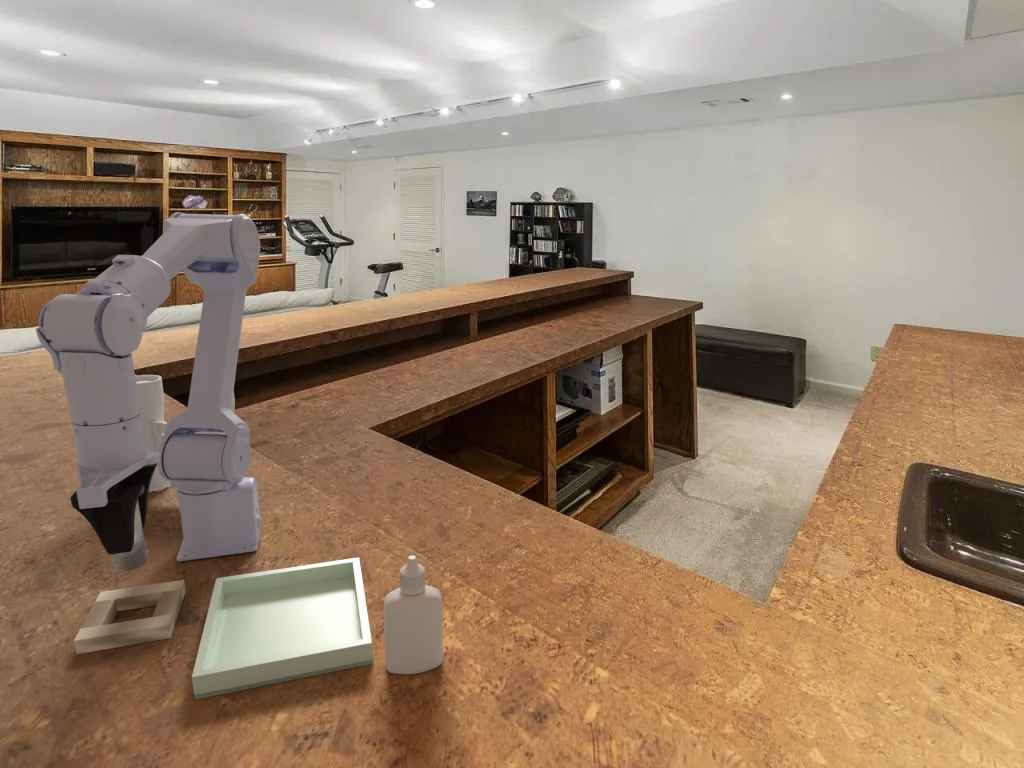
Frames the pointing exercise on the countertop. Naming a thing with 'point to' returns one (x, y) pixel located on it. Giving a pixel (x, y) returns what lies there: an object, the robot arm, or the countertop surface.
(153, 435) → the binoculars
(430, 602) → the eye dropper bottle
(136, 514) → the pin
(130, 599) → the pin collar
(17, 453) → the countertop surface
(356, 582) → the tray
